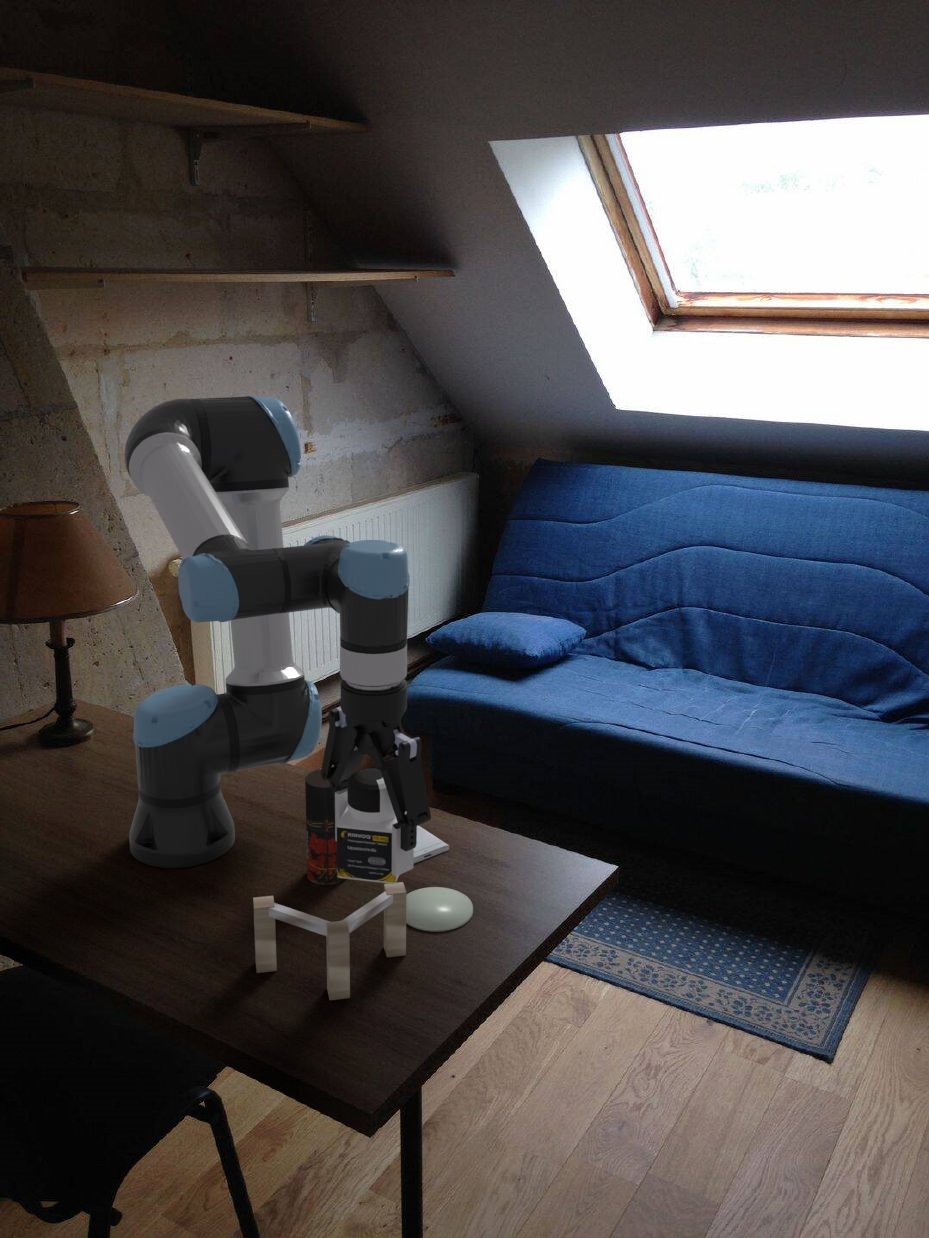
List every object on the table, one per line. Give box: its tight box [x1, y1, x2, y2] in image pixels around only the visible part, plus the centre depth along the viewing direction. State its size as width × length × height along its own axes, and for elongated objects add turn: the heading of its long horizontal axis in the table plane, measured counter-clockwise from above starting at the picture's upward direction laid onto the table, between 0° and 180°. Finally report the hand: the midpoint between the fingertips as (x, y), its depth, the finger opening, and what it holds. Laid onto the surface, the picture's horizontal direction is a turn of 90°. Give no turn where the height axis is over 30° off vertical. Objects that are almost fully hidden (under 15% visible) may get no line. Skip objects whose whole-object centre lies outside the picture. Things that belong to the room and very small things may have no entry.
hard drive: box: [413, 825, 450, 865], centre depth 165 cm, size 2×8×12 cm
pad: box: [406, 886, 474, 933], centre depth 147 cm, size 10×10×1 cm
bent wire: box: [252, 881, 407, 1001], centre depth 132 cm, size 9×18×9 cm, turn 103°
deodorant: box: [304, 769, 347, 886], centre depth 153 cm, size 6×6×15 cm
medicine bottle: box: [337, 767, 407, 884], centre depth 129 cm, size 7×7×12 cm
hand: (373, 854), depth 131 cm, fingers closed on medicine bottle, 10 cm apart
